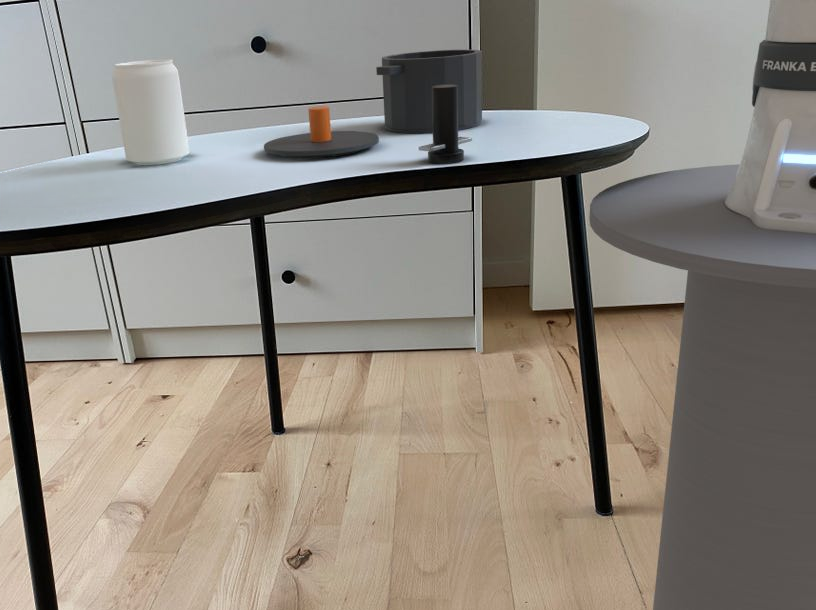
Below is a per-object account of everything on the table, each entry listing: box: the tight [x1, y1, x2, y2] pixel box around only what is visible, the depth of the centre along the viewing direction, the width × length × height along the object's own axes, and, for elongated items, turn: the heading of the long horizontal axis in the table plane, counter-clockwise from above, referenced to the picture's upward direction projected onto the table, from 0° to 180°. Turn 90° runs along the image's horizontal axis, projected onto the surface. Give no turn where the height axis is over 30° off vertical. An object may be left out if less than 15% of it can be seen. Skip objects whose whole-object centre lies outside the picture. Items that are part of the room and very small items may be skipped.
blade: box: [418, 85, 473, 165], centre depth 92 cm, size 7×4×8 cm, turn 132°
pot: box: [375, 49, 483, 134], centre depth 116 cm, size 14×19×10 cm
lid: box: [263, 105, 380, 159], centre depth 105 cm, size 15×15×5 cm
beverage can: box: [111, 58, 190, 166], centre depth 105 cm, size 8×8×12 cm
